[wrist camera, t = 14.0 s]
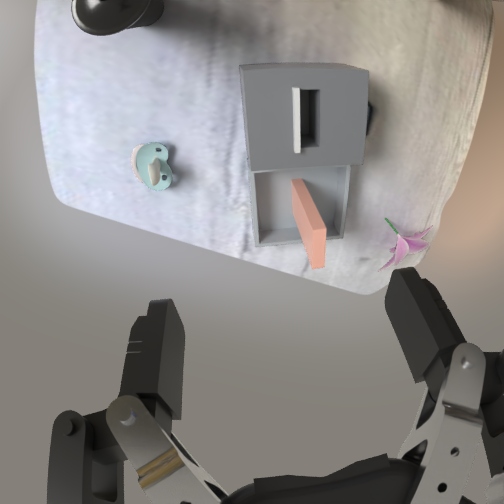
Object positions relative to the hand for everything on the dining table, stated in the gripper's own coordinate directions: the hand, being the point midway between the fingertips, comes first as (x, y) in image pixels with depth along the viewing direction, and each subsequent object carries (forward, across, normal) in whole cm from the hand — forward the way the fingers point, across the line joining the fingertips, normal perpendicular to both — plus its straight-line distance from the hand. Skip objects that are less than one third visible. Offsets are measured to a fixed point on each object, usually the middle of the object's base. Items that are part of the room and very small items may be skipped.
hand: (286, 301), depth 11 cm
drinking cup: (+34, +10, -15) cm, 39 cm away
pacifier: (+34, +14, +7) cm, 38 cm away
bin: (+34, -7, +15) cm, 38 cm away
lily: (+34, -26, +25) cm, 50 cm away
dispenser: (+34, -7, +1) cm, 35 cm away
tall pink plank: (+33, -7, +16) cm, 37 cm away
